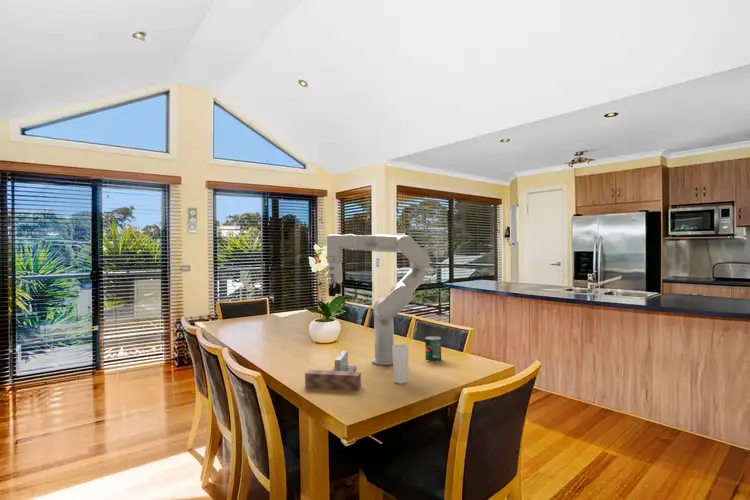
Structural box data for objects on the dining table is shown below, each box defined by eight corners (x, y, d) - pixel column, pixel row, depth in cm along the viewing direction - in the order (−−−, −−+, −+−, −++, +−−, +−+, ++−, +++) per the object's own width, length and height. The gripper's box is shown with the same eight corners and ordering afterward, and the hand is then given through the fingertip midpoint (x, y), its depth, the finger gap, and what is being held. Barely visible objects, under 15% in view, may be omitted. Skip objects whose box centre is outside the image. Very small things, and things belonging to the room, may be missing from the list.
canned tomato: (422, 359, 193) (421, 337, 193) (432, 356, 198) (432, 335, 198) (434, 362, 187) (434, 340, 187) (444, 359, 192) (444, 337, 192)
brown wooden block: (360, 386, 157) (360, 371, 157) (358, 391, 152) (357, 375, 152) (309, 383, 161) (309, 369, 161) (305, 388, 156) (305, 373, 156)
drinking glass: (404, 385, 156) (403, 349, 156) (389, 383, 160) (389, 347, 160) (411, 380, 162) (411, 345, 162) (397, 378, 165) (397, 343, 165)
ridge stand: (356, 368, 181) (356, 350, 181) (348, 381, 163) (348, 361, 163) (335, 367, 182) (335, 349, 182) (325, 380, 164) (325, 360, 164)
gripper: (337, 260, 178) (337, 297, 178) (346, 259, 195) (346, 293, 195) (321, 260, 179) (322, 297, 179) (332, 259, 196) (332, 292, 196)
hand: (335, 294), depth 187 cm, fingers open, 9 cm apart
